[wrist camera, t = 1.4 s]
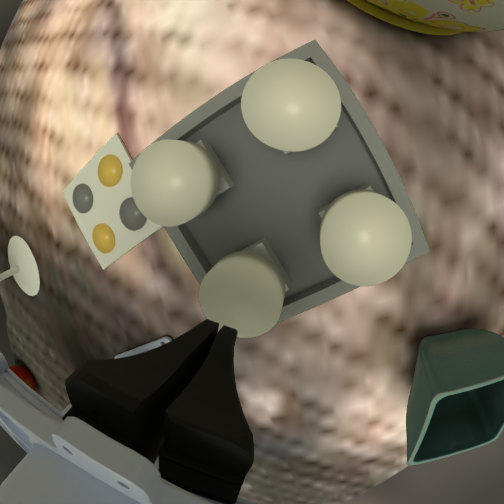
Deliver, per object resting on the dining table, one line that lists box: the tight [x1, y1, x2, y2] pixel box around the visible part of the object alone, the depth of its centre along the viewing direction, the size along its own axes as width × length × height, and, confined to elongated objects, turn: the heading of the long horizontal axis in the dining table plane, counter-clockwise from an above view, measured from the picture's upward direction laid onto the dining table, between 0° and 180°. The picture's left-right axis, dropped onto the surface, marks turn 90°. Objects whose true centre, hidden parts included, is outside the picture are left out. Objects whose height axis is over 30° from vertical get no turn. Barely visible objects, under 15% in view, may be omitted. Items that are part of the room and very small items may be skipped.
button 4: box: [131, 139, 219, 227], centre depth 17 cm, size 5×5×4 cm
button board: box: [129, 40, 429, 338], centre depth 19 cm, size 16×16×2 cm
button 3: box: [199, 251, 285, 338], centre depth 18 cm, size 5×5×4 cm
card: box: [63, 133, 163, 270], centre depth 23 cm, size 9×9×1 cm
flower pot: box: [406, 329, 504, 465], centre depth 16 cm, size 9×9×9 cm
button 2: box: [241, 59, 341, 152], centre depth 14 cm, size 5×5×4 cm
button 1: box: [320, 189, 412, 286], centre depth 16 cm, size 5×5×4 cm
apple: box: [8, 365, 35, 391], centre depth 34 cm, size 9×9×12 cm
